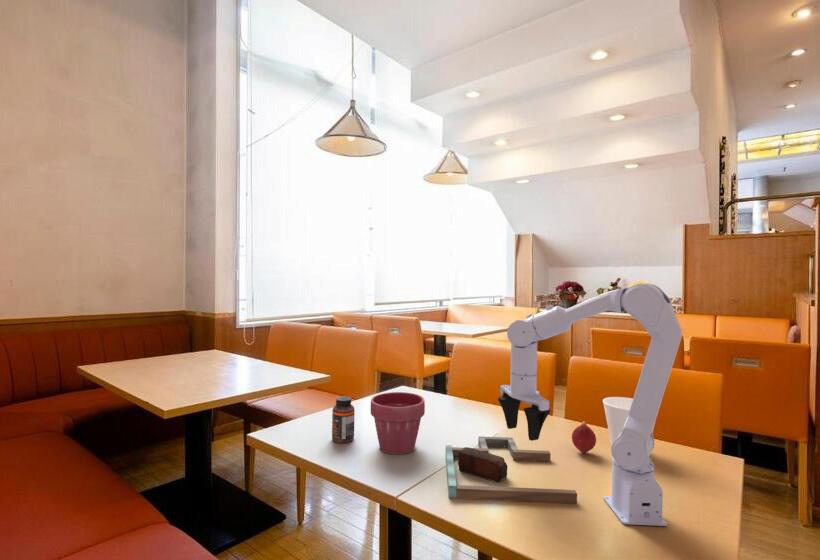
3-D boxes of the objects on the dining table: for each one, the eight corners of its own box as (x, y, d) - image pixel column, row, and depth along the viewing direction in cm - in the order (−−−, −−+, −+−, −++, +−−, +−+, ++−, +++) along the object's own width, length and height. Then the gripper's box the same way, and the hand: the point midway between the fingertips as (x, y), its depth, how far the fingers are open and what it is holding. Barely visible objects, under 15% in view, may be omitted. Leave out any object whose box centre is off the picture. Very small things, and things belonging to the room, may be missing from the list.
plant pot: (366, 439, 118) (366, 392, 118) (415, 435, 122) (416, 390, 122) (374, 461, 104) (375, 408, 104) (430, 456, 108) (431, 405, 108)
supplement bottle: (327, 438, 118) (328, 397, 118) (346, 433, 122) (347, 393, 122) (338, 445, 114) (339, 402, 114) (358, 440, 117) (358, 398, 117)
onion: (598, 458, 108) (598, 426, 108) (573, 456, 109) (574, 424, 109) (593, 449, 114) (593, 419, 114) (569, 447, 115) (570, 417, 115)
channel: (576, 503, 87) (577, 491, 87) (448, 498, 88) (448, 485, 88) (540, 446, 116) (540, 436, 116) (444, 442, 117) (444, 433, 117)
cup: (624, 461, 107) (625, 411, 107) (591, 443, 118) (592, 398, 118) (663, 457, 110) (664, 408, 110) (627, 439, 121) (629, 395, 121)
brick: (457, 471, 100) (457, 451, 100) (465, 465, 104) (465, 446, 104) (500, 484, 94) (501, 463, 94) (507, 477, 98) (508, 457, 98)
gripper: (560, 378, 93) (559, 442, 93) (517, 365, 106) (516, 421, 106) (534, 381, 90) (533, 447, 90) (493, 367, 103) (492, 424, 103)
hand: (522, 433), depth 98 cm, fingers open, 7 cm apart
